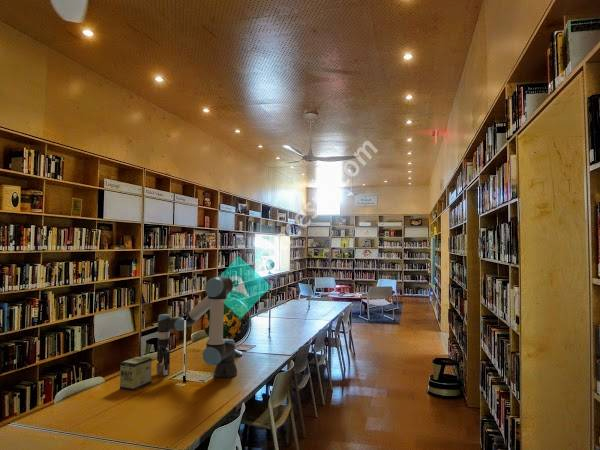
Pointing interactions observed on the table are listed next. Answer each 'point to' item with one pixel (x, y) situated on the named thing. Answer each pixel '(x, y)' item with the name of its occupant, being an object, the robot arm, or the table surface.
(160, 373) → the walnut block
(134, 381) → the protein box
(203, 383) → the table surface
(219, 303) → the robot arm
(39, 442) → the table surface
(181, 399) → the table surface
